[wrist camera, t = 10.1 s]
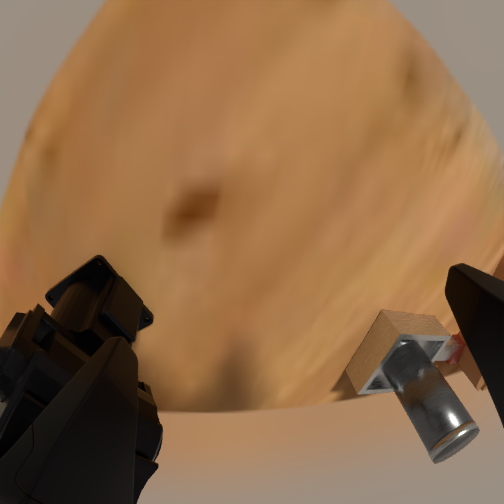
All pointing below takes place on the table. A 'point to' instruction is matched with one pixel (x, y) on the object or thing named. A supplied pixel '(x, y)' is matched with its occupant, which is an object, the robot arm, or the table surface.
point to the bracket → (466, 358)
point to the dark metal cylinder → (429, 402)
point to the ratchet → (391, 337)
